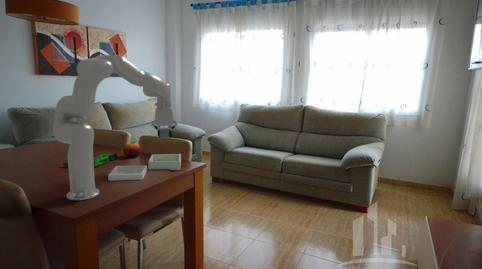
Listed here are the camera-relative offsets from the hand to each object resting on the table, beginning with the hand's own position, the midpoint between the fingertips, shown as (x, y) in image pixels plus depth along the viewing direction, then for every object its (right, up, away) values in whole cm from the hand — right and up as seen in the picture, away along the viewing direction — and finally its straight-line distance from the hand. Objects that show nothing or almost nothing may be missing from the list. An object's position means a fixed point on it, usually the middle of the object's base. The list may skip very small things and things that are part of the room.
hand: (164, 136), depth 176 cm
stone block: (0, 0, 0) cm, 0 cm away
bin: (0, -17, +3) cm, 17 cm away
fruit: (-27, -13, +24) cm, 38 cm away
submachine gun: (-48, -16, +7) cm, 51 cm away
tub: (-14, -20, -17) cm, 30 cm away
